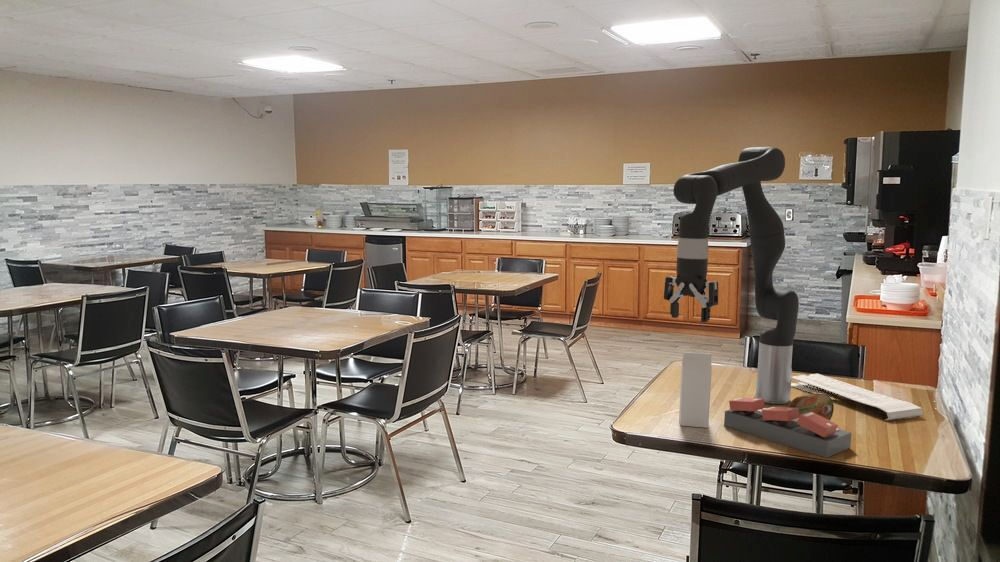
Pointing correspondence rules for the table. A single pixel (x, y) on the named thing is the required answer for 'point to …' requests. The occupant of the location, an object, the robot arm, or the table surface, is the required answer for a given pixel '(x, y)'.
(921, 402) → the table surface
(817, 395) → the tin
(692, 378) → the milk carton
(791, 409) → the block
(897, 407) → the white flat bar
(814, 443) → the power strip
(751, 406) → the block
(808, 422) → the rocker
